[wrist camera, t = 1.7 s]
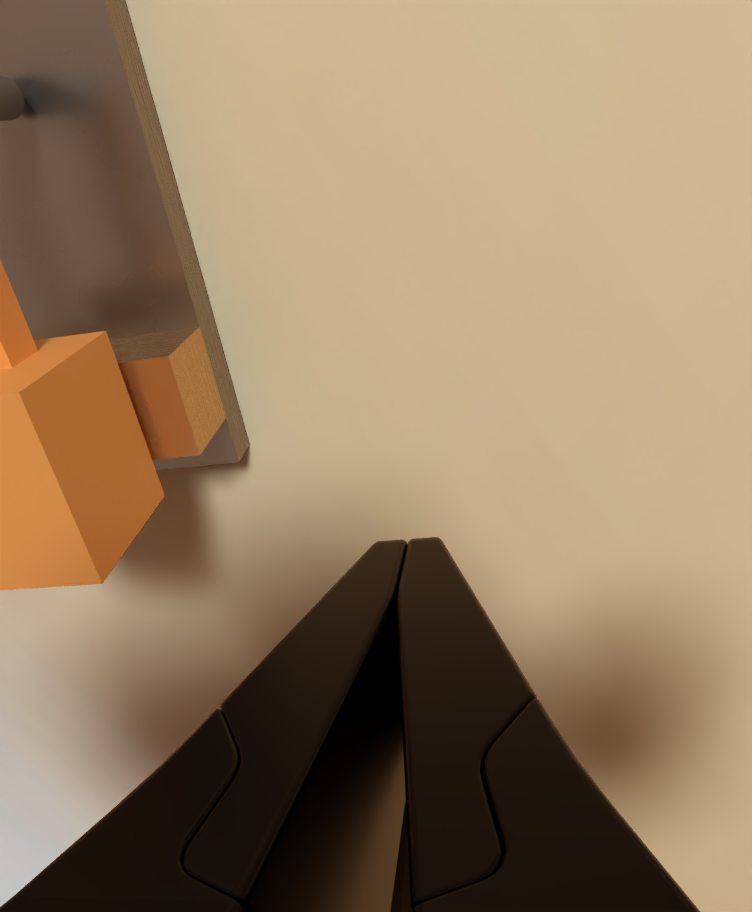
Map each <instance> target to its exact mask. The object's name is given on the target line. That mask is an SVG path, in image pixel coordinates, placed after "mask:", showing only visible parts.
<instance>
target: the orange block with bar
mask: <svg viewBox="0 0 752 912" xmlns="http://www.w3.org/2000/svg"><path fill="white" fill-rule="evenodd" d="M23 110H24V98H23V94H22V92H21V90H20V88H19V87H18V86H17V84H16V83H15V82H14V81H12V80H11V79H9V78H7V77H4V76H0V121H7V120H14V119H17V118H18V117H19V116H20V115H21V114H22V112H23ZM164 496H165V495H164V492H163V489H162V486H161V483H160V481H159V478H158V475H157V472H156V469H155V467H154V464H153V461H152V458H151V455H150V453H149V450H148V447H147V444H146V441H145V439H144V436H143V433H142V430H141V427H140V425H139V422H138V419H137V416H136V413H135V411H134V408H133V405H132V402H131V399H130V397H129V394H128V391H127V388H126V385H125V383H124V380H123V377H122V374H121V371H120V369H119V366H118V363H117V360H116V357H115V355H114V352H113V349H112V346H111V343H110V341H109V338H108V335H107V332H106V331H100V332H92V333H85V334H78V335H70V336H63V337H55V338H48V339H41V340H33V337H32V335H31V333H30V330H29V328H28V325H27V323H26V320H25V318H24V315H23V313H22V311H21V308H20V306H19V303H18V301H17V298H16V296H15V294H14V291H13V289H12V286H11V284H10V281H9V279H8V276H7V274H6V272H5V269H4V267H3V264H2V262H1V259H0V590H13V589H28V588H43V587H58V586H74V585H89V584H102V583H103V582H104V580H105V579H106V578H107V576H108V575H109V573H110V572H111V571H112V569H113V568H114V566H115V565H116V564H117V562H118V561H119V559H120V558H121V556H122V555H123V554H124V552H125V551H126V549H127V548H128V547H129V545H130V544H131V542H132V541H133V540H134V538H135V537H136V535H137V534H138V533H139V531H140V530H141V528H142V527H143V526H144V524H145V523H146V521H147V520H148V519H149V517H150V516H151V514H152V513H153V512H154V510H155V509H156V507H157V506H158V505H159V503H160V502H161V500H162V499H163V498H164Z"/></svg>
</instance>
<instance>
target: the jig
mask: <svg viewBox="0 0 752 912" xmlns="http://www.w3.org/2000/svg"><path fill="white" fill-rule="evenodd" d="M0 76H4V77H7V78H9V79H11V80H12V81H14V82H15V83H16V84H17V86H18V87H19V88H20V90H21V92H22V94H23V98H24V110H23V112H22V114H21V115H20V116H19V117H18V118H17V119H14V120H7V121H0V259H1V262H2V264H3V267H4V269H5V272H6V274H7V276H8V279H9V281H10V284H11V286H12V289H13V291H14V294H15V296H16V298H17V301H18V303H19V306H20V308H21V311H22V313H23V315H24V318H25V320H26V323H27V325H28V328H29V330H30V333H31V335H32V337H33V340H41V339H48V338H55V337H63V336H70V335H78V334H85V333H92V332H100V331H106V332H107V335H108V338H109V341H110V343H111V346H112V349H113V352H114V355H115V357H116V360H117V363H118V366H119V369H120V371H121V374H122V377H123V380H124V383H125V385H126V388H127V391H128V394H129V397H130V399H131V402H132V405H133V408H134V411H135V413H136V416H137V419H138V422H139V425H140V427H141V430H142V433H143V436H144V439H145V441H146V444H147V447H148V450H149V453H150V455H151V458H152V461H153V464H154V467H155V469H156V470H164V469H174V468H185V467H195V466H206V465H216V464H227V463H237V462H240V460H241V458H242V456H243V455H244V453H245V451H246V450H247V448H248V446H249V442H248V438H247V434H246V431H245V427H244V424H243V420H242V417H241V413H240V409H239V406H238V402H237V399H236V395H235V392H234V388H233V384H232V381H231V377H230V374H229V370H228V367H227V363H226V359H225V356H224V352H223V349H222V345H221V342H220V338H219V334H218V331H217V327H216V324H215V320H214V317H213V313H212V309H211V306H210V302H209V299H208V295H207V292H206V288H205V284H204V281H203V277H202V274H201V270H200V267H199V263H198V259H197V256H196V252H195V249H194V245H193V242H192V238H191V235H190V231H189V227H188V224H187V220H186V217H185V213H184V210H183V206H182V202H181V199H180V195H179V192H178V188H177V185H176V181H175V177H174V174H173V170H172V167H171V163H170V160H169V156H168V152H167V149H166V145H165V142H164V138H163V135H162V131H161V127H160V124H159V120H158V117H157V113H156V110H155V106H154V102H153V99H152V95H151V92H150V88H149V85H148V81H147V77H146V74H145V70H144V67H143V63H142V60H141V56H140V52H139V49H138V45H137V42H136V38H135V35H134V31H133V27H132V24H131V20H130V17H129V13H128V10H127V6H126V2H125V0H0Z"/></svg>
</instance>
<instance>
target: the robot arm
mask: <svg viewBox="0 0 752 912" xmlns="http://www.w3.org/2000/svg"><path fill="white" fill-rule="evenodd" d="M220 707H221V710H220V709H216V710H215V711H214V712H213V713H212V714H211V715H210V716H209V717H208V718H207V719H206V720H205V721H204V722H203V723H202V724H201V725H200V726H199V727H198V728H197V729H196V731H195V732H194V733H193V734H192V735H191V736H190V737H189V738H188V739H187V740H186V741H185V742H184V743H183V744H182V745H181V746H180V747H179V748H178V749H177V750H176V751H175V752H174V753H173V754H172V755H171V756H170V757H169V758H168V759H167V760H166V761H165V762H164V763H163V764H162V765H161V766H159V767H158V768H157V769H156V770H155V771H154V772H153V773H152V774H151V775H150V776H149V777H147V778H146V779H145V780H144V781H143V782H142V783H141V784H140V785H139V786H138V787H137V788H135V789H134V790H133V791H132V792H131V793H130V794H129V795H128V796H127V797H126V798H125V799H123V800H122V801H121V802H120V803H119V804H118V805H117V806H116V807H115V808H113V809H112V810H111V811H110V812H109V813H108V814H107V815H105V816H104V817H103V818H102V819H101V820H100V821H99V822H97V823H96V824H95V825H94V826H93V827H92V828H91V829H90V830H88V831H87V832H86V833H85V834H84V835H83V836H82V837H80V838H79V839H78V840H77V841H76V842H75V843H74V844H72V845H71V846H70V847H69V848H68V849H67V850H66V851H65V852H63V853H62V854H61V855H60V856H59V857H58V858H57V859H55V860H54V861H53V862H52V863H51V864H50V865H49V866H47V867H46V868H45V869H44V870H43V871H42V872H41V873H40V874H38V875H37V876H36V877H35V878H34V879H33V880H32V881H30V882H29V883H28V884H27V885H26V886H25V887H24V888H22V889H21V890H20V891H19V892H18V893H17V894H16V895H15V896H13V897H12V898H11V899H10V900H8V901H7V902H6V903H5V904H4V905H2V906H1V907H0V912H700V911H699V910H698V908H697V907H696V906H695V905H694V904H693V902H692V901H691V900H690V899H689V897H688V896H687V895H686V894H685V893H684V891H683V890H682V889H681V888H680V887H679V885H678V884H677V883H676V882H675V880H674V879H673V878H672V877H671V876H670V874H669V873H668V872H667V871H666V869H665V868H664V867H663V866H662V865H661V863H660V862H659V861H658V860H657V859H656V857H655V856H654V855H653V854H652V852H651V851H650V850H649V849H648V848H647V846H646V845H645V844H644V843H643V842H642V840H641V839H640V838H639V837H638V835H637V834H636V833H635V832H634V831H633V829H632V828H631V827H630V826H629V825H628V823H627V822H626V821H625V820H624V818H623V817H622V816H621V815H620V814H619V812H618V811H617V810H616V809H615V807H614V806H613V805H612V804H611V803H610V801H609V800H608V799H607V797H606V796H605V795H604V794H603V792H602V791H601V790H600V788H599V787H598V786H597V784H596V783H595V782H594V781H593V779H592V778H591V777H590V775H589V774H588V773H587V772H586V770H585V769H584V768H583V766H582V765H581V764H580V762H579V761H578V760H577V758H576V757H575V755H574V754H573V752H572V751H571V749H570V748H569V746H568V745H567V743H566V742H565V740H564V739H563V737H562V736H561V734H560V733H559V731H558V730H557V728H556V727H555V725H554V723H553V722H552V720H551V719H550V717H549V715H548V714H547V712H546V710H545V709H544V707H543V705H542V704H541V702H540V701H539V700H537V697H536V695H535V693H534V691H533V690H532V688H531V686H530V685H529V683H528V681H527V680H526V678H525V676H524V675H523V673H522V672H521V670H520V668H519V667H518V665H517V663H516V662H515V660H514V658H513V657H512V655H511V653H510V652H509V650H508V649H507V647H506V645H505V644H504V642H503V640H502V639H501V637H500V635H499V634H498V632H497V630H496V629H495V627H494V626H493V624H492V622H491V621H490V619H489V617H488V616H487V614H486V612H485V611H484V609H483V607H482V606H481V604H480V603H479V601H478V599H477V598H476V596H475V594H474V593H473V591H472V589H471V588H470V586H469V584H468V583H467V581H466V579H465V578H464V576H463V575H462V573H461V571H460V570H459V568H458V566H457V565H456V563H455V561H454V560H453V558H452V556H451V555H450V553H449V552H448V550H447V548H446V547H445V545H444V543H443V542H442V540H441V539H440V538H438V537H432V538H419V539H412V540H410V541H409V542H408V543H407V542H406V541H405V540H391V541H379V542H376V543H375V544H373V545H372V546H371V547H370V548H369V549H368V550H367V552H366V553H365V554H364V555H363V556H362V557H361V558H360V559H359V560H358V561H357V562H356V563H355V564H354V565H353V566H352V567H351V568H350V569H349V570H348V571H347V573H346V574H345V575H344V576H343V577H342V578H341V579H340V580H339V581H338V582H337V583H336V584H335V585H334V586H333V587H332V588H331V589H330V590H329V591H328V592H327V594H326V595H325V596H324V597H323V598H322V599H321V600H320V601H319V602H318V603H317V604H316V605H315V606H314V607H313V608H312V609H311V610H310V611H309V612H308V613H307V614H306V616H305V617H304V618H303V619H302V620H301V621H300V622H299V623H298V624H297V625H296V626H295V627H294V628H293V629H292V630H291V631H290V632H289V633H288V634H287V635H286V637H285V638H284V639H283V640H282V641H281V642H280V643H279V644H278V645H277V646H276V647H275V648H274V649H273V650H272V651H271V652H270V653H269V654H268V655H267V656H266V657H265V659H264V660H263V661H262V662H261V663H260V664H259V665H258V666H257V667H256V668H255V669H254V670H253V671H252V672H251V673H250V674H249V675H248V676H247V677H246V678H245V680H244V681H243V682H242V683H241V684H240V685H239V686H238V687H237V688H236V689H235V690H234V691H233V692H232V693H231V694H230V695H229V696H228V697H227V698H226V699H225V700H224V702H223V703H222V704H221V706H220Z"/></svg>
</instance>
